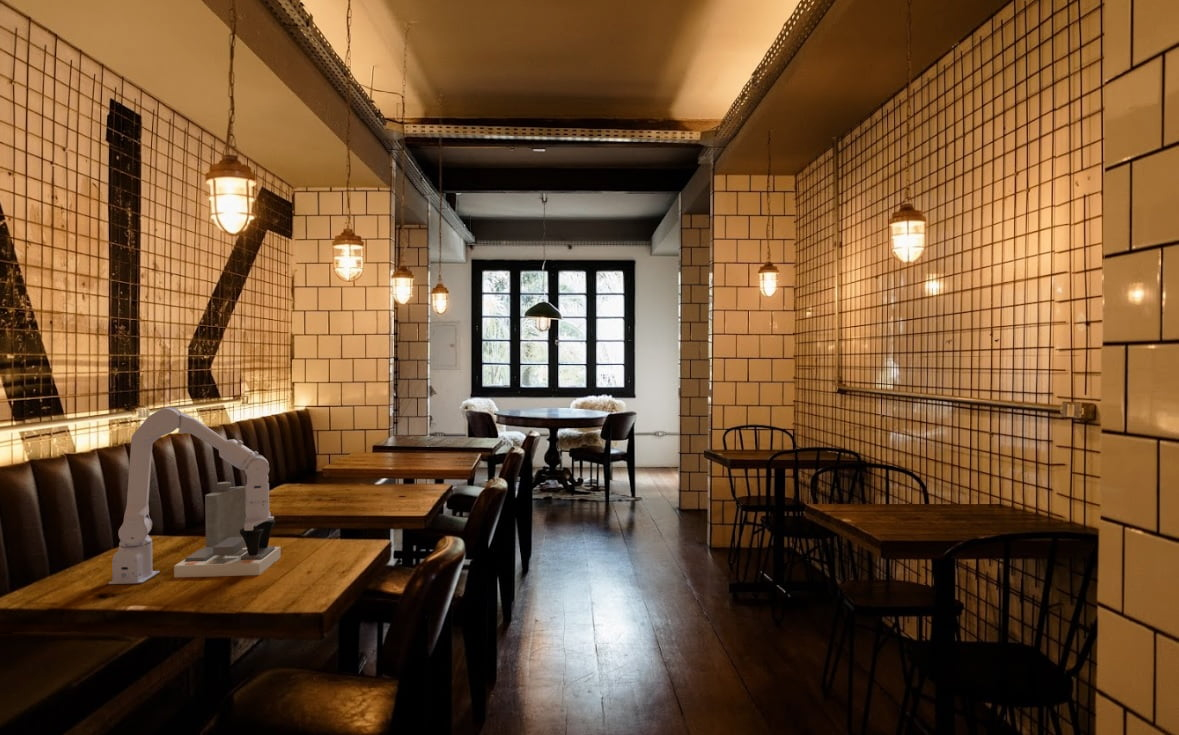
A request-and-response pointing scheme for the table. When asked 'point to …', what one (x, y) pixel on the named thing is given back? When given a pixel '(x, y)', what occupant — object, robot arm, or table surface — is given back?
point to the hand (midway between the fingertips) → (258, 551)
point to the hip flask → (225, 513)
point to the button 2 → (261, 554)
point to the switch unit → (226, 565)
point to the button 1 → (201, 555)
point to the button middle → (229, 546)
